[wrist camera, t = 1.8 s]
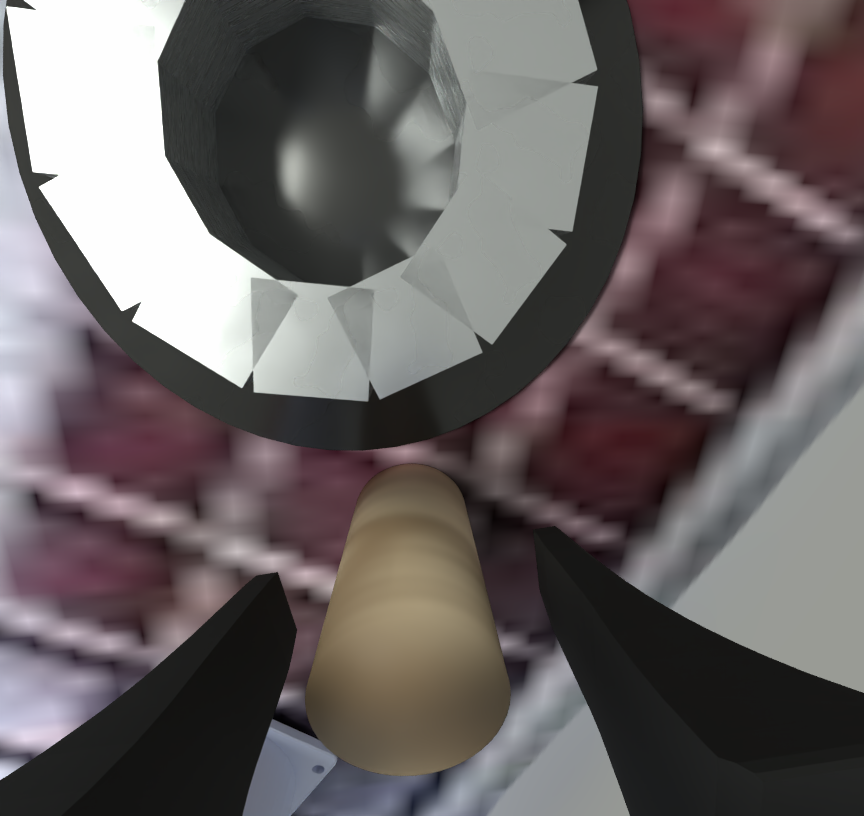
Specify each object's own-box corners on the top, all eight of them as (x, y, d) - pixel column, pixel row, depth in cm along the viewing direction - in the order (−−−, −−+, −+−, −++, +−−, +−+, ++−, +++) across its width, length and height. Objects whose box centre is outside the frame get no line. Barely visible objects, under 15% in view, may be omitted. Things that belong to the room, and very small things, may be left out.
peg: (424, 579, 15) (433, 801, 9) (333, 528, 15) (266, 727, 8) (487, 501, 15) (551, 677, 8) (395, 443, 14) (378, 582, 7)
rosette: (414, 531, 15) (414, 585, 12) (-77, 241, 12) (-225, 226, 9) (761, 91, 11) (869, 29, 9) (197, -512, 8) (87, -914, 5)
